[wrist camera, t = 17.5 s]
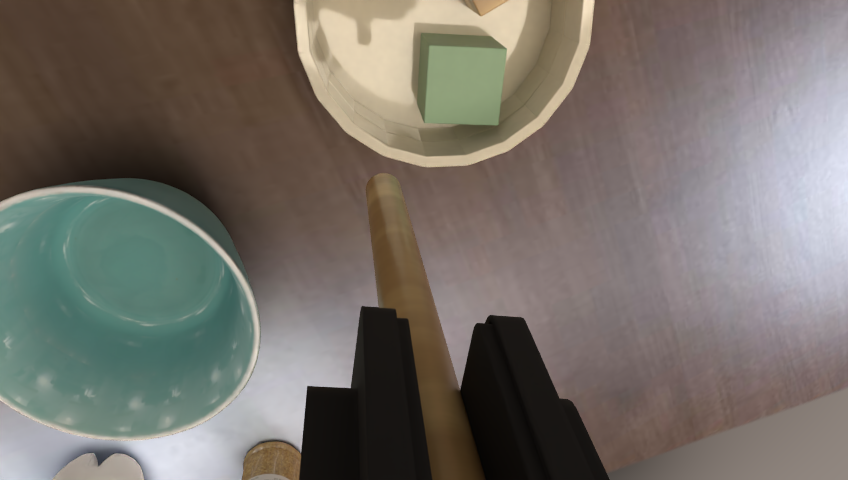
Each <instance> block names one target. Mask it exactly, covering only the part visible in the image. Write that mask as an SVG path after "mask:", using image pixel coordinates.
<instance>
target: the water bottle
mask: <svg viewBox="0 0 848 480" xmlns="http://www.w3.org/2000/svg"><path fill="white" fill-rule="evenodd" d="M52 480H144V478H143V473H142V470H141V467H140V465H139V464H138V463H137V462H136V461H135V459H133V458H131V457H130V456H128V455H125V454H118V453H115V454H113V455H111V456H110V457H108V458H107V459H106V460H105V461H104V462H103V463H102V464H101V465H100V466H98V461H97V458H96V456H95V454H94V453H87V454H84V455H82V456H79V457H78V458H76V459H75V460H73V461H72V462H70V463H69V464H67V465H66V466H65V467H64V468H63V469H61V470H60V471H59V472H58V473H57V474H56V476H55V477H54V478H53V479H52Z"/></svg>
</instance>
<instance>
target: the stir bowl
mask: <svg viewBox="0 0 848 480" xmlns="http://www.w3.org/2000/svg"><path fill="white" fill-rule="evenodd" d="M594 2H595V0H508V1H507V2H505V3H503V4H502V5H500V6H498V7H497V8H495V9H493V10H492V11H490V12H488V13H487V14H485V15H483V16H479V15H478V14H477V13H475V12H474V11H472V10H471V9H469V8H468V7H467V6H466V4H465V2H464V0H294V3H293V7H294V18H295V28H296V39H297V49H298V54H299V57H300V59H301V62H302V64H303V67H304V69H305V71H306V74H307V76H308V79H309V81H310V83H311V86H312V88H313V90H314V93H315V95H316V97H317V99H318V100H319V101H320V103H321V104H322V105H323V106H324V107H325V108H326V110H327V111H328V112H329V113H330V114H331V116H332V117H333V118H334V119H335V120H336V121H337V123H338V124H339V125H340V126H341V127H342V129H343V130H344V131H345V132H347V134H349V135H350V136H352V137H354V138H355V139H357V140H358V141H360V142H361V143H363V144H365V145H366V146H368V147H369V148H371V149H373V150H374V151H376V152H377V153H379V154H380V155H382V156H384V157H388V158H392V159H395V160H399V161H403V162H407V163H410V164H414V165H418V166H422V167H444V166H466V165H470V164H473V163H476V162H479V161H482V160H484V159H487V158H490V157H493V156H496V155H499V154H501V153H504V152H507V151H509V150H510V149H512V148H513V147H515V146H516V145H517V144H519V143H520V142H521V141H523V140H524V139H526V138H527V137H528V136H530V135H531V134H533V133H534V132H535V131H537V130H538V129H539V128H541V127H542V126H543V125H544V124H545V123H546V122H547V121H548V119H549V118H550V117H551V115H552V114H553V113H554V112H555V110H556V109H557V108H558V106H559V105H560V104H561V103H562V101H563V100H564V99H565V98H566V96H567V95H568V94H569V92H570V91H571V90H572V88H573V86H574V84H575V81H576V79H577V76H578V74H579V71H580V69H581V66H582V64H583V62H584V59H585V57H586V54H587V52H588V49H589V47H590V41H591V31H592V21H593V12H594ZM421 33H436V34H456V35H476V36H491V37H493V38H494V39H495V40H497V41H498V42H499V43H500V44H502V45H503V46H504V47H505V48H507V55H506V63H505V72H504V81H503V89H502V98H501V106H500V115H499V124H498V125H497V126H494V125H463V124H433V123H424V121H423V119H422V116H421V113H420V111H419V108H418V105H417V93H418V76H419V59H420V42H421Z"/></svg>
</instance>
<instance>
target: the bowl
mask: <svg viewBox="0 0 848 480" xmlns="http://www.w3.org/2000/svg"><path fill="white" fill-rule="evenodd" d="M260 338H261V326H260V317H259V311H258V307H257V303H256V300H255V297H254V294H253V291H252V288H251V285H250V282H249V279H248V276H247V273H246V271H245V268H244V266H243V263H242V261H241V259H240V256H239V254H238V252H237V250H236V248H235V245H234V243H233V241H232V239H231V237H230V235H229V233H228V232H227V230H226V229H225V227H224V225H223V224H222V223H221V222H220V220H219V219H218V218H217V217H216V216H215V215H214V213H213V212H212V211H210V210H209V209H208V208H207V207H206V206H205V205H204V204H202V203H201V202H200V201H198V200H197V199H195V198H194V197H192V196H191V195H189V194H187V193H185V192H183V191H181V190H179V189H177V188H174V187H172V186H169V185H166V184H164V183H160V182H156V181H151V180H146V179H137V178H116V179H101V180H89V181H81V182H73V183H67V184H61V185H55V186H50V187H44V188H39V189H35V190H31V191H27V192H24V193H21V194H18V195H15V196H12V197H10V198H8V199H5V200H3V201H1V202H0V401H2V402H3V403H5V404H6V405H7V406H9V407H10V408H12V409H14V410H15V411H17V412H18V413H20V414H22V415H24V416H26V417H28V418H30V419H32V420H34V421H37V422H39V423H41V424H43V425H46V426H48V427H51V428H54V429H56V430H60V431H63V432H66V433H69V434H74V435H78V436H83V437H88V438H94V439H103V440H118V441H132V440H145V439H153V438H159V437H164V436H169V435H173V434H176V433H179V432H183V431H186V430H188V429H191V428H194V427H196V426H198V425H200V424H202V423H204V422H206V421H208V420H209V419H211V418H212V417H214V416H215V415H217V414H218V413H219V412H221V411H222V410H223V409H224V408H226V407H227V406H228V405H229V404H230V403H231V402H232V401H233V400H234V399H235V398H236V397H237V396H238V395H239V394H240V392H241V391H242V390H243V388H244V387H245V385H246V384H247V382H248V381H249V379H250V377H251V375H252V373H253V370H254V368H255V365H256V362H257V358H258V353H259V348H260Z"/></svg>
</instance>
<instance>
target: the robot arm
mask: <svg viewBox="0 0 848 480" xmlns="http://www.w3.org/2000/svg"><path fill="white" fill-rule="evenodd" d="M460 392H461V396H462V399H463V402H464V406H465V409H466V413H467V416H468V420H469V423H470V426H471V430H472V433H473V437H474V440H475V444H476V447H477V450H478V454H479V457H480V461H481V464H482V468H483V471H484V474H485V478H486V480H609V477H608V475H607V473H606V471H605V469H604V467H603V464H602V462H601V460H600V458H599V456H598V454H597V452H596V449H595V447H594V445H593V443H592V441H591V439H590V437H589V434H588V432H587V430H586V428H585V426H584V424H583V421H582V419H581V417H580V415H579V413H578V411H577V409H576V407H575V406H574V404H573V402H571V401H570V400H568V399H559V396H558V394H557V392H556V390H555V387H554V385H553V383H552V381H551V378H550V376H549V374H548V371H547V369H546V367H545V365H544V362H543V360H542V358H541V355H540V353H539V351H538V349H537V346H536V344H535V342H534V340H533V337H532V335H531V333H530V330H529V328H528V326H527V324H526V321H525V320H524V318H521V317H508V316H494V315H490V316H488V318H487V320H486V322H485V324H483V323H477V324H476V325H475V327H474V330H473V334H472V339H471V343H470V348H469V353H468V357H467V362H466V367H465V371H464V376H463V381H462V385H461V390H460ZM299 480H432V474H431V468H430V461H429V454H428V447H427V441H426V434H425V427H424V420H423V414H422V407H421V400H420V393H419V387H418V380H417V373H416V367H415V360H414V353H413V346H412V340H411V333H410V326H409V320H408V319H407V318H397V313H396V309H393V308H379V307H364V306H362V307H361V312H360V318H359V327H358V335H357V343H356V351H355V359H354V367H353V375H352V383H351V388H333V387H313V386H307V397H306V408H305V419H304V430H303V441H302V452H301V463H300V474H299Z"/></svg>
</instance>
